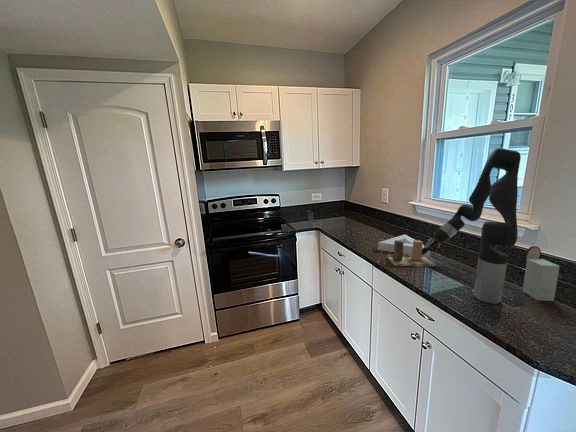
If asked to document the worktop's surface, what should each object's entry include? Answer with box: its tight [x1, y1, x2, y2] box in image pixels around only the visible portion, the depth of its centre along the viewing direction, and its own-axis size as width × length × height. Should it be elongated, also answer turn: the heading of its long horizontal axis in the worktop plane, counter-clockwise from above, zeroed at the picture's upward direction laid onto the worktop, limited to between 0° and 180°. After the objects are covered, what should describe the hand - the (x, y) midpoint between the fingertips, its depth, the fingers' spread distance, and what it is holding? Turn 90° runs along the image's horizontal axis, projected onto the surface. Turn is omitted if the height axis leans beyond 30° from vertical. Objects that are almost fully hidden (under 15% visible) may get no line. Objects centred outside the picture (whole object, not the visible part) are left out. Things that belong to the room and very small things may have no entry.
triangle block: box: [377, 234, 431, 259], centre depth 168 cm, size 30×26×6 cm
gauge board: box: [386, 254, 436, 268], centre depth 144 cm, size 22×12×2 cm, turn 87°
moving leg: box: [411, 239, 424, 260], centre depth 143 cm, size 4×6×11 cm, turn 177°
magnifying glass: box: [523, 245, 542, 264], centre depth 111 cm, size 9×2×20 cm, turn 103°
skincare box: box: [522, 258, 561, 302], centre depth 105 cm, size 8×7×16 cm
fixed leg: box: [392, 240, 404, 261], centre depth 144 cm, size 4×6×11 cm, turn 177°
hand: (421, 253), depth 143 cm, fingers closed
